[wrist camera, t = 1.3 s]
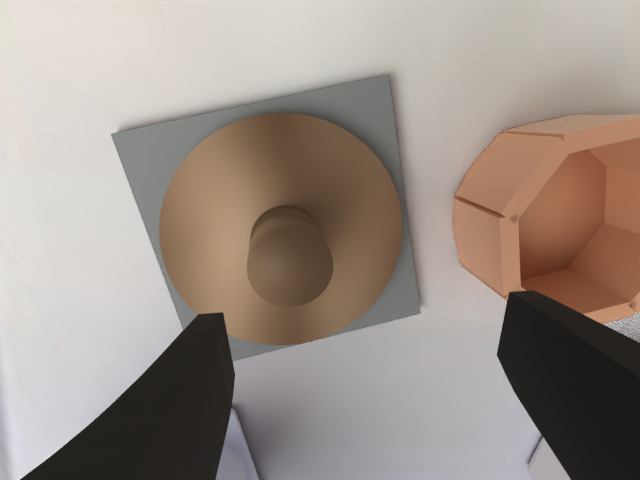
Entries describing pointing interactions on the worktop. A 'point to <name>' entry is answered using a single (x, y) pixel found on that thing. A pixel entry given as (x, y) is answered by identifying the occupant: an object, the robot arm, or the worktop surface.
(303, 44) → the worktop surface
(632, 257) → the bowl
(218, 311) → the lid
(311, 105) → the mat
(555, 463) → the charger
